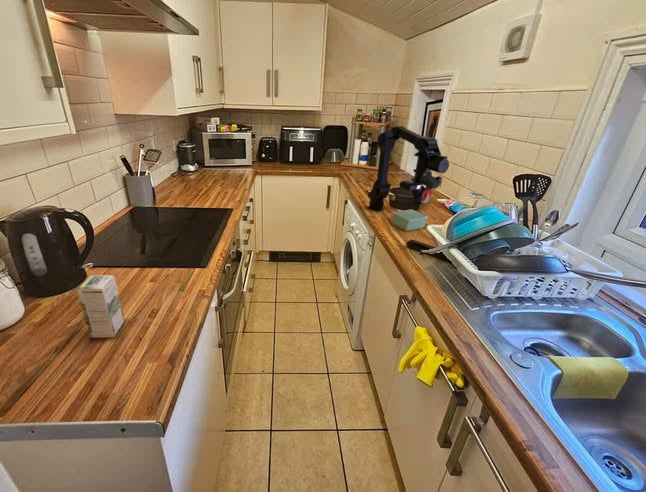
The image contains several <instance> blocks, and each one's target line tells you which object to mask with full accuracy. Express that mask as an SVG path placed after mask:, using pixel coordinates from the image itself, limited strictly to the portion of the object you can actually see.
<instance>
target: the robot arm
mask: <svg viewBox="0 0 646 492" xmlns="http://www.w3.org/2000/svg"><path fill="white" fill-rule="evenodd" d="M400 139H402V140H404V141H406V142H408V143H410V144H412V145H413V147H414V148H415V149H416V150H417V152H416V153H414V157H417V160H416V166H415V168H414V169H413V170H412V172H413V173H414V177H413V178H411V181H410V180H401V181H400V182H399V188H401V189H403V190H406V191H411V193H412V197H413V200H414V202H415V203H419V202H418V201H419V200H420V198H421V196H422V195H423V193H424V192H425V191H426V190H428V189H432V190H434V189H435V190H436V189H437V188H439V187H440V186H441V185H442V182H443V177H442V176H441V175H440V176H439V175H437V176H433V172H434V173H438V174H445V173H446V172H448V169H449V167H450V161H449V160H448V156H447V155H442V152H441V149H440V147H439V143H438V140H437V138H435V137H431V136H425V135H424V136H423V135H421V134H418V133H416V132H414V131H412V130H411V129H408V128H406V127H405V126H402V125H396V126H394V127H393V126H392V128H390V129H388V130H386V131H384V132H380V133H379V135H378V136H377V147H378V150H379V159H378V168H377V176H376V180H375V181H374V183H373V185H372V189H371V190H369V192H367V197H368V198H369V205H368V206H367V209H369V210H372V211H376V212H380V211H381V210H384V205H385V201H384V199H386V198H387V197H388V195H389V194H390V192H391V186H392V185H391V183H390V182H389V181H388V175H389V168H390V160H391V152H392V151H393V149H394V148H395V144H396V141H398V140H400Z"/></svg>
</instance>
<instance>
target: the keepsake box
mask: <svg viewBox="0 0 646 492" xmlns="http://www.w3.org/2000/svg"><path fill="white" fill-rule="evenodd" d="M426 222H427V218H426V219H421V220H416V221H411V222H408V221H406V220H404V219H402V218H400V217H398V216H396V215H394V214H393V213H392V218H391V224H392V225H394V226H396V227H398V228H399V229H402V230H403V231H405V232H408V231H413V230H418V229H422V228H425V227H426Z"/></svg>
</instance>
